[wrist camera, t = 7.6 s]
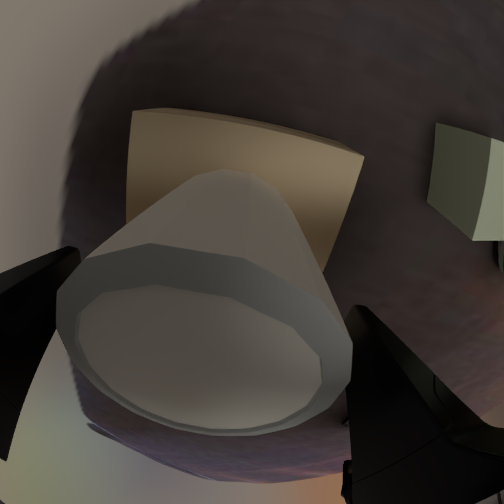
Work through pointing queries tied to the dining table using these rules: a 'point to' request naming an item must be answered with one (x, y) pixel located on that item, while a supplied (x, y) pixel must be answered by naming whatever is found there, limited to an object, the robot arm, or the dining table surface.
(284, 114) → the dining table surface
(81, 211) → the dining table surface
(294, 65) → the dining table surface
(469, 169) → the sage cube
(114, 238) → the shot glass
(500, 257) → the soda can
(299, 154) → the maple block
